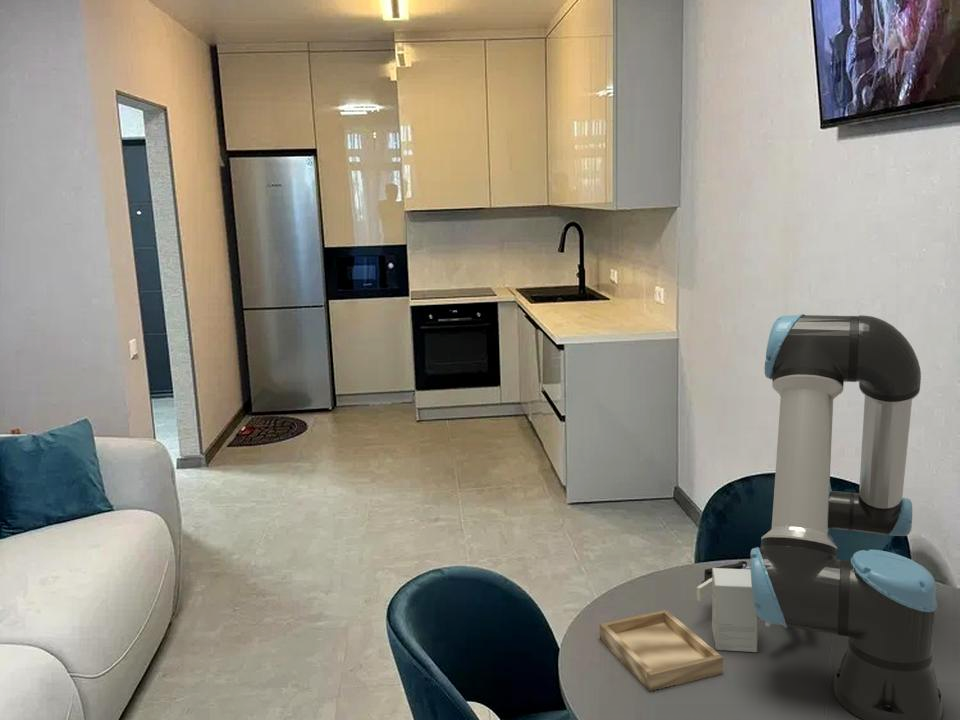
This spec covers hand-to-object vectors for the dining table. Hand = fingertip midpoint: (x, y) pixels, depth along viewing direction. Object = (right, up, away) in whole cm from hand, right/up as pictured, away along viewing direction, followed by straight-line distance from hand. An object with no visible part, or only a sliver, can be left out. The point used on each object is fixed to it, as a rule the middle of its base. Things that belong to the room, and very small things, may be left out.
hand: (731, 606), depth 142 cm
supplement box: (+1, -7, +1) cm, 7 cm away
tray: (-14, -8, -2) cm, 16 cm away
